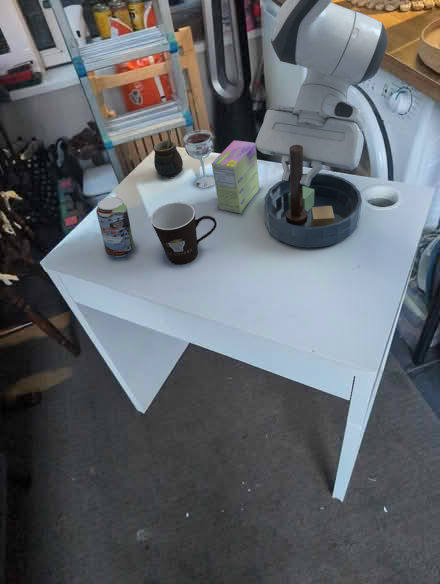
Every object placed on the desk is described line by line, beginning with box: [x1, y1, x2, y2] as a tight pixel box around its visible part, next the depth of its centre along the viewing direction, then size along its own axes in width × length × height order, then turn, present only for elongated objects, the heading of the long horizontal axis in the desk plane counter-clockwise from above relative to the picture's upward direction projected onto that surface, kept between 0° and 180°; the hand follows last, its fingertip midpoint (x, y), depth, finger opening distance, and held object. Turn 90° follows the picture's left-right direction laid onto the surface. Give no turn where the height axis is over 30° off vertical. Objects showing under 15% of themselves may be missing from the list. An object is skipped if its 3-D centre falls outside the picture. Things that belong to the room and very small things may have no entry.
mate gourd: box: [152, 129, 184, 179], centre depth 109 cm, size 7×8×10 cm
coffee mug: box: [150, 201, 218, 266], centre depth 86 cm, size 12×9×10 cm
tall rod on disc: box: [286, 145, 308, 226], centre depth 84 cm, size 4×4×16 cm
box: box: [211, 140, 260, 214], centre depth 97 cm, size 10×6×12 cm, turn 152°
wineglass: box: [182, 129, 215, 189], centre depth 103 cm, size 7×7×12 cm
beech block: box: [311, 206, 334, 227], centre depth 87 cm, size 4×4×4 cm
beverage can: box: [95, 196, 135, 258], centre depth 89 cm, size 6×7×12 cm
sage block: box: [288, 186, 314, 212], centre depth 93 cm, size 4×4×4 cm
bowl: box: [263, 172, 363, 249], centre depth 90 cm, size 19×19×6 cm
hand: (295, 183), depth 82 cm, fingers closed on tall rod on disc, 2 cm apart
